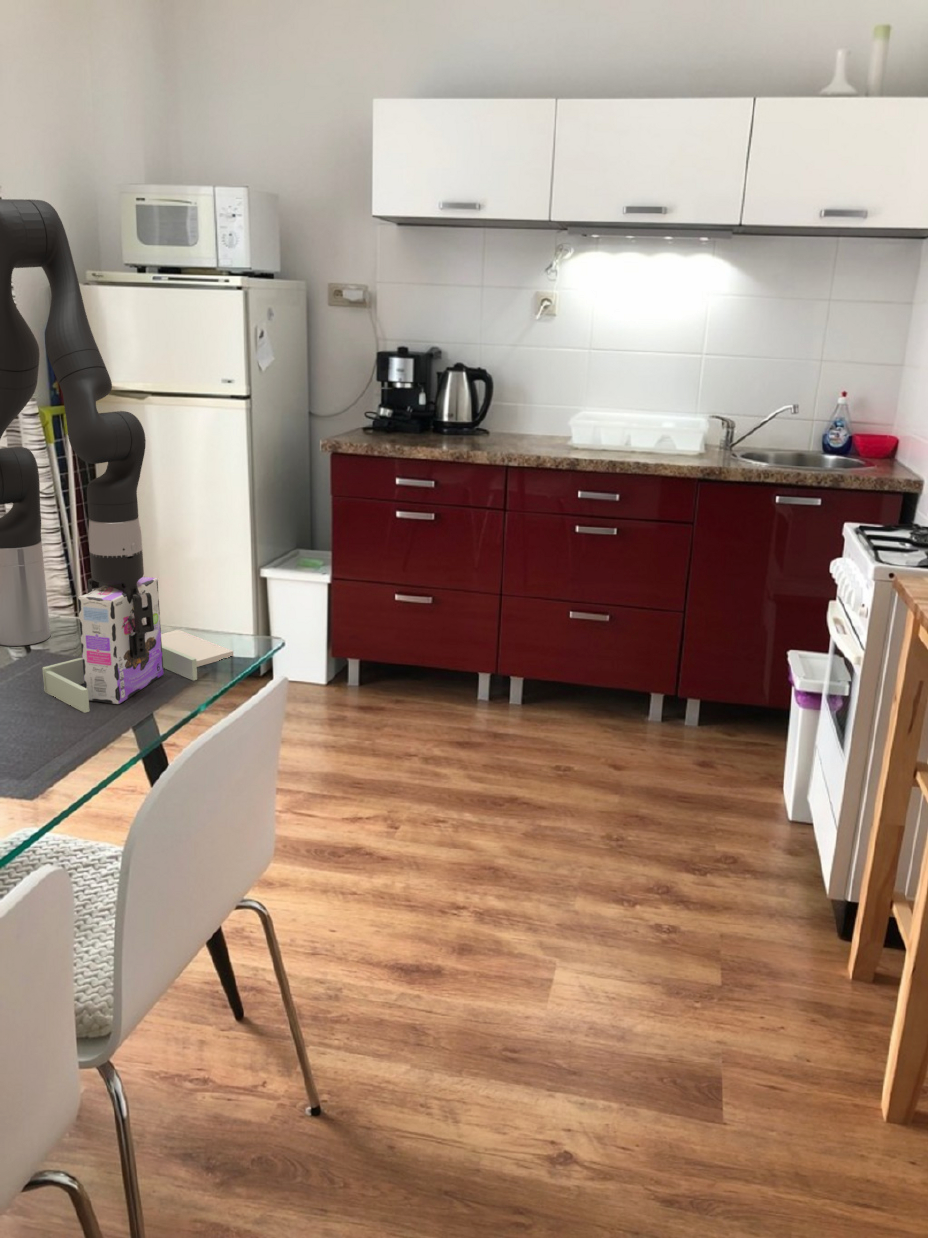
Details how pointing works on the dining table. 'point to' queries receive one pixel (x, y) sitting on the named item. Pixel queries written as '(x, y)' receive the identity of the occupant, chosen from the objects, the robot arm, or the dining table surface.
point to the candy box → (117, 644)
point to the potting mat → (195, 647)
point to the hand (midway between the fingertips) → (123, 650)
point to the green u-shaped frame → (70, 675)
